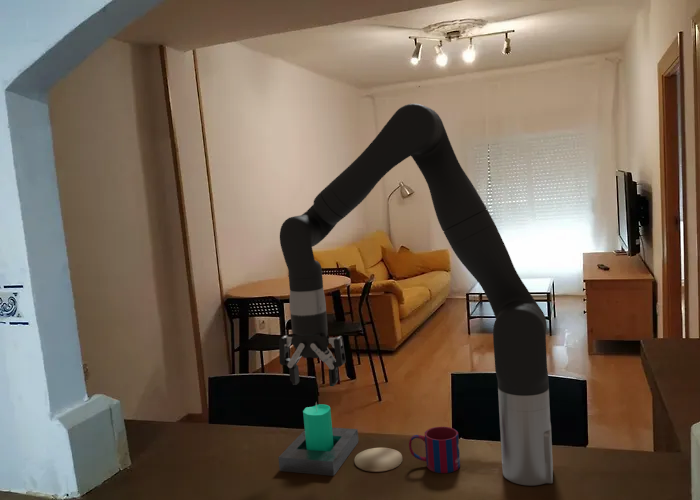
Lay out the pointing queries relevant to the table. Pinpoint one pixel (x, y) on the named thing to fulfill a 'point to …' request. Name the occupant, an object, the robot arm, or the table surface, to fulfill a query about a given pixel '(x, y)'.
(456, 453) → the mug
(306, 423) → the candle
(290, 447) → the grey rectangular frame
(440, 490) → the table surface
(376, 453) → the cork coaster
